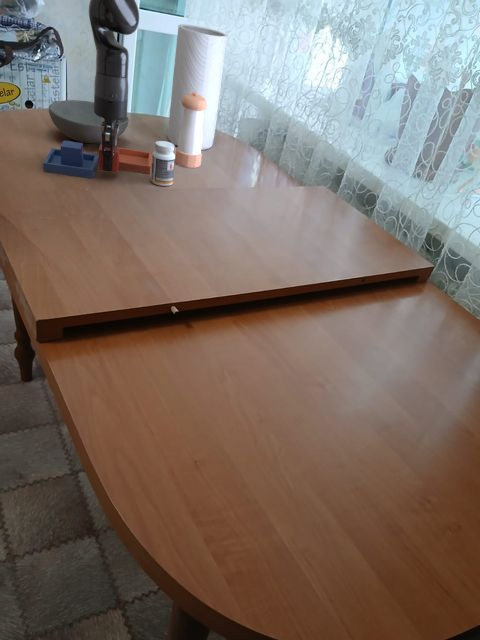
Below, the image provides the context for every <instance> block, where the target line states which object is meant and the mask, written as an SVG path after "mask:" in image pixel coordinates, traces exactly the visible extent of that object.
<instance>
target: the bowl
mask: <svg viewBox="0 0 480 640" xmlns="http://www.w3.org/2000/svg"><path fill="white" fill-rule="evenodd" d="M48 113H49V117H50V119H51V121H52V123H53V125H54V126H55V127H56V128H57V129H58V130H59V132H60V133H61V134H63V135H64V136H66V137H68V138H69V139H71V140H74V141H75V142H78V143H83V144H84V143H85V144H92V145H93V144H94V145H100V144H101V134H102V132H101V124H102V121H104V118H102V117H99V116H97V115H96V114H95V113H94V101H88V100H80V99H79V100H76V99H67V100H59V101H58V100H57V101H54V102H52V103H50V104H49V105H48ZM129 120H130V119H129V116H127V117H126V118H125V119H123V120H118V123H117V124H119V131H118V138H119V137H121V136H122V135H123V134H124V133H125V131H126V129H127V127H128V125H129Z"/></svg>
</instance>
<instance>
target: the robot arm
mask: <svg viewBox="0 0 480 640" xmlns="http://www.w3.org/2000/svg"><path fill="white" fill-rule="evenodd" d="M88 17H89V24H90V28H91V32H92V37H93V42H94V46H95V51H96V52H95V53H96V56H95V76H94V85H93V86H94V88H93V89H94V91H93V94H94V95H93V102H94V113H95V114H96V115H97V116H99V117H102V118H104V121H102V124H101V132H102V134H101V144H102V152H101V153H102V155H103V170H104V172H108V173H110V172H111V171H112V168H113V155H114V147H115V146H117V143H118V139H119V137H118V131H119V124H117V123H118V120H123V119H125V118H126V117H128V104H129V103H128V102H129V64H130V63H129V62H130V54H129V50H128V49H127V47H125V46H124V45H123V44H121V43H120V42H118V41H117V39H116V36H115V33H116V34H120V35H123V36H129V35H130V36H131V35H132V34H134V33H135V32H136V30H137V29H138V27H139V23H140V11H139V7H138V4H137V2H136V0H89V4H88ZM105 147H107V148H110V149H111V151H108V150H105ZM111 173H112V172H111Z"/></svg>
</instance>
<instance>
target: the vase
mask: <svg viewBox="0 0 480 640" xmlns="http://www.w3.org/2000/svg"><path fill="white" fill-rule="evenodd" d="M177 28H178V29H177V37H176V46H175V56H174V64H173V65H174V66H173V74H172V84H171V85H172V86H171V97H170V105H169V106H170V107H169V115H168V129H167V131H168V132H167V139H168V141H169V142H170V143H172V144H174V146H177V147H178V139H179V133H180V129H181V126H182V120H183V111H184V107H183V105H182V102H181V101H182V98H183V97H184V96H185V95H187V94H193V92H197V93H198V94H199V95H200V96H202V97H203V98H205V99H206V101H207V105H208V106H207V108H206V110H204V114H203V123H202V147H201V151H206V150H208V149H210V148H212V147H213V145H214V139H215V133H216V126H217V120H218V119H217V118H218V111H219V103H220V96H221V89H222V80H223V71H224V65H225V64H224V63H225V56H226V49H227V39H228V34H226V33H224V32H222V31H219V30H216V29H214V28H208V27H204V26H200V25H194V24H185V23H183V24H178V26H177Z"/></svg>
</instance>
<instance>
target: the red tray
mask: <svg viewBox="0 0 480 640" xmlns="http://www.w3.org/2000/svg"><path fill="white" fill-rule="evenodd" d="M152 157H153V152H151V151H146V150H139V149H133V148H125V147H120V152H119V168H118V171H122V172H123V171H124V172H131V173H138V174H139V173H140V174H145V175H151V171H152Z"/></svg>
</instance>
